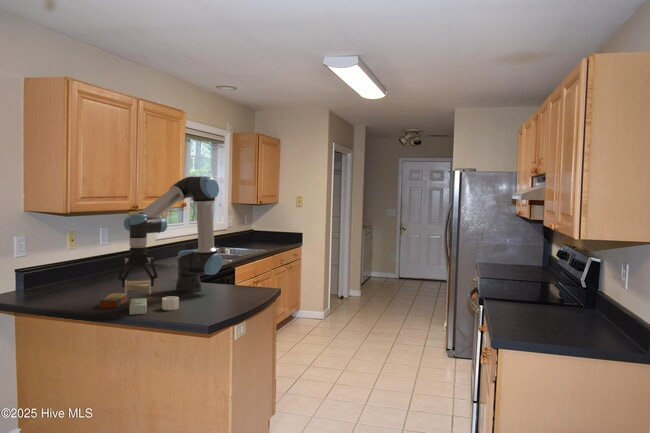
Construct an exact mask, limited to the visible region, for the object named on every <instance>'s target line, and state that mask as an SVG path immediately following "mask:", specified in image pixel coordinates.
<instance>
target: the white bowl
mask: <svg viewBox="0 0 650 433" xmlns="http://www.w3.org/2000/svg"><path fill="white" fill-rule="evenodd" d="M161 298H162V299H161V303H162V305H161V306H162V311H163V310H164V311H176V310H178V309H179V308H180V297H179V296H173V295H172V296H165V297H161Z"/></svg>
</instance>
